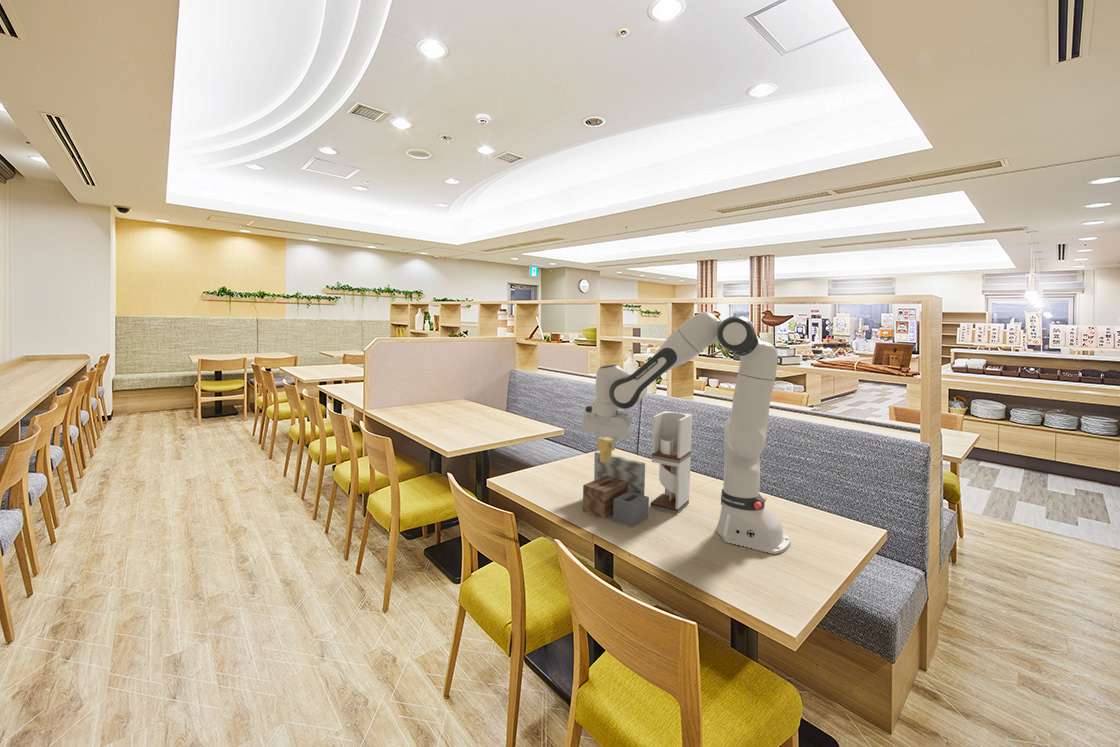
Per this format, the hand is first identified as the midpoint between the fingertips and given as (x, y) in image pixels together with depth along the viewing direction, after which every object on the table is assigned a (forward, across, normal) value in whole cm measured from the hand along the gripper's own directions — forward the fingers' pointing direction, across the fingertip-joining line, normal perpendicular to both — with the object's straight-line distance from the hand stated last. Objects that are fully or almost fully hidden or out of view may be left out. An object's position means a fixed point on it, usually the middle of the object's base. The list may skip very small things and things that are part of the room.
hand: (606, 446), depth 173 cm
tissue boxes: (+24, 0, 0) cm, 24 cm away
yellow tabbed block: (+5, 0, 0) cm, 5 cm away
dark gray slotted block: (+24, -12, +1) cm, 27 cm away
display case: (+24, -16, -19) cm, 35 cm away
